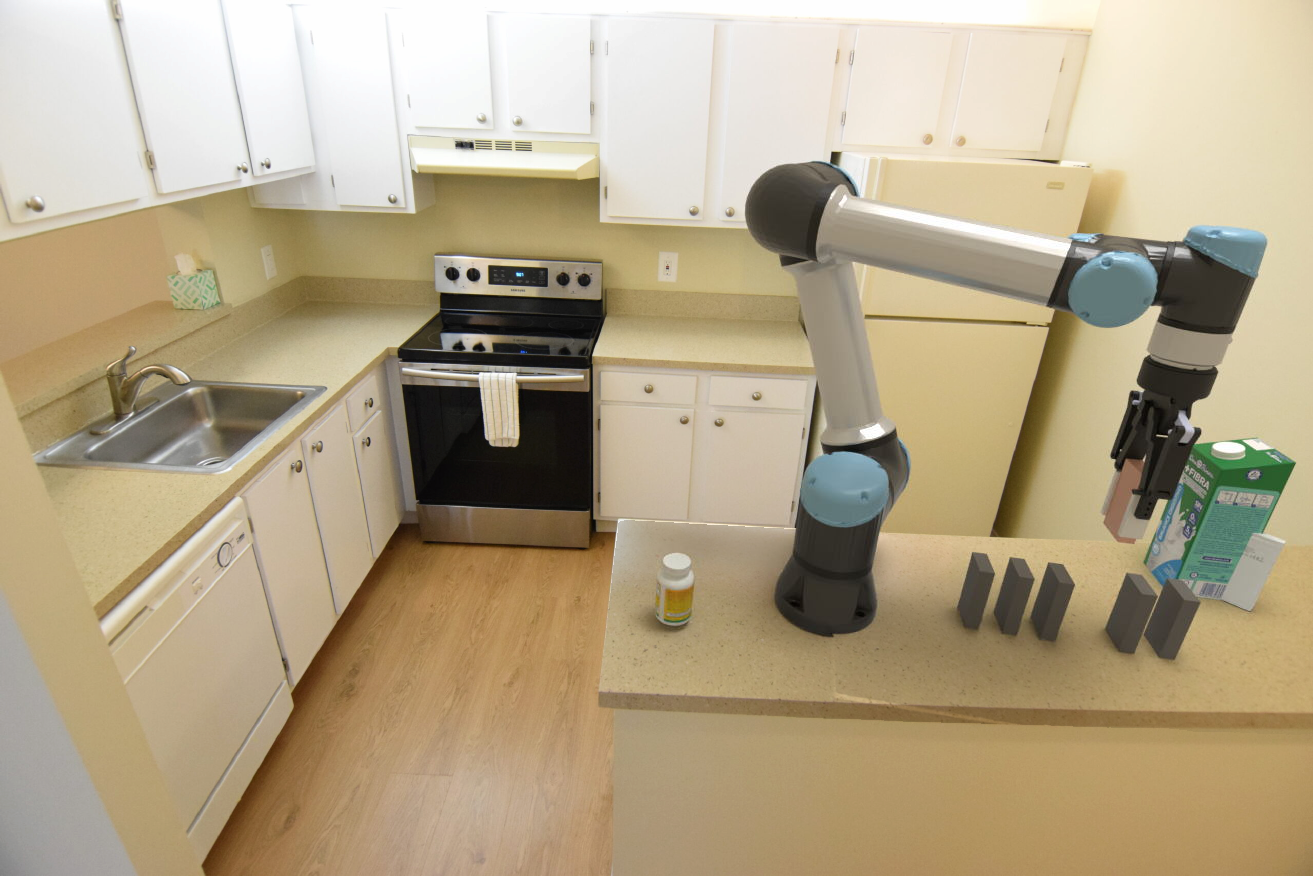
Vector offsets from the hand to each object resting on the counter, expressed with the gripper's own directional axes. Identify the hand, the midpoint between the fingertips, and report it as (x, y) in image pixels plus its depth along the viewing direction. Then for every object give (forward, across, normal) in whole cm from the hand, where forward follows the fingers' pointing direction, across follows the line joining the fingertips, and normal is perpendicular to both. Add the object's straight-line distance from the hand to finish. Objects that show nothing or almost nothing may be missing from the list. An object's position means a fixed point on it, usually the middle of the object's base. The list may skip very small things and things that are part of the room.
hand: (1120, 525), depth 93 cm
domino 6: (+19, 0, -10) cm, 21 cm away
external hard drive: (+18, +15, -25) cm, 35 cm away
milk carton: (+19, +18, -22) cm, 34 cm away
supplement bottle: (+19, -10, +59) cm, 62 cm away
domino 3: (+19, 0, +5) cm, 19 cm away
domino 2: (+19, 0, +10) cm, 21 cm away
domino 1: (+19, 0, +16) cm, 24 cm away
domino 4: (+1, 0, 0) cm, 1 cm away
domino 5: (+19, 0, -5) cm, 19 cm away
